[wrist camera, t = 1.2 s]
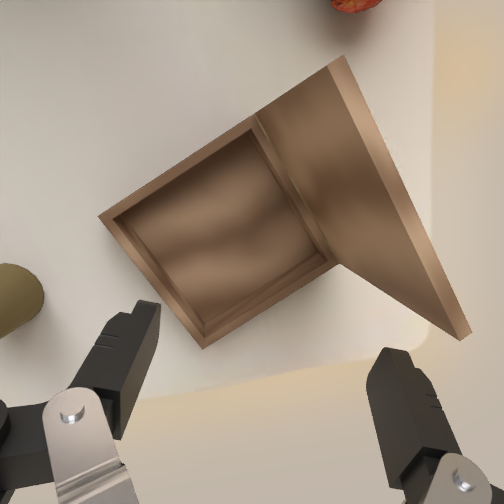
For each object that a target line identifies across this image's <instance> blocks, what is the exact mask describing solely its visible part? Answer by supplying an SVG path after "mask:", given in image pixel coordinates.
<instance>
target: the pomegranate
mask: <svg viewBox="0 0 504 504" xmlns="http://www.w3.org/2000/svg"><path fill="white" fill-rule="evenodd" d="M380 1H382V0H331V4H332V6H333V7H334V8H335V9H337V10H339V11H342V12H346V13H357V12H359V11H364V10H367V9H369V8H371V7H374V6H376V5H377V4H378V3H379V2H380Z"/></svg>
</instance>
